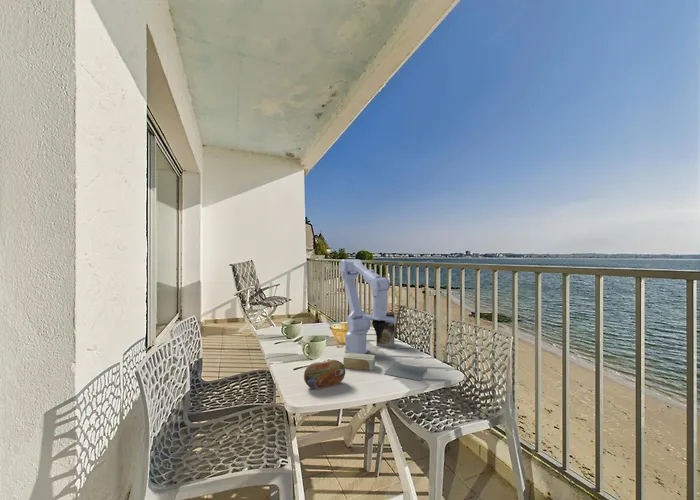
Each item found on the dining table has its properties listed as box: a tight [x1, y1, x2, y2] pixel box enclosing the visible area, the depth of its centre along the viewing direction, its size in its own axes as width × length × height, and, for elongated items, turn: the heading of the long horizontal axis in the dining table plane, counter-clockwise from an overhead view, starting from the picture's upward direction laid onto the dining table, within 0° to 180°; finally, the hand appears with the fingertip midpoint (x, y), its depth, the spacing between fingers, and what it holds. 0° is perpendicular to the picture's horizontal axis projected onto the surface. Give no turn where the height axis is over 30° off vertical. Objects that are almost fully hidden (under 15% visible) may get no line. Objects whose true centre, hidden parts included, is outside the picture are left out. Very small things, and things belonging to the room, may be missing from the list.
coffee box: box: [375, 311, 396, 347], centre depth 160 cm, size 9×6×16 cm
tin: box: [303, 359, 346, 390], centre depth 112 cm, size 15×3×8 cm, turn 117°
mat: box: [383, 362, 428, 382], centre depth 126 cm, size 14×13×1 cm
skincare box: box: [342, 352, 376, 372], centre depth 130 cm, size 6×4×12 cm
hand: (379, 338), depth 135 cm, fingers closed
